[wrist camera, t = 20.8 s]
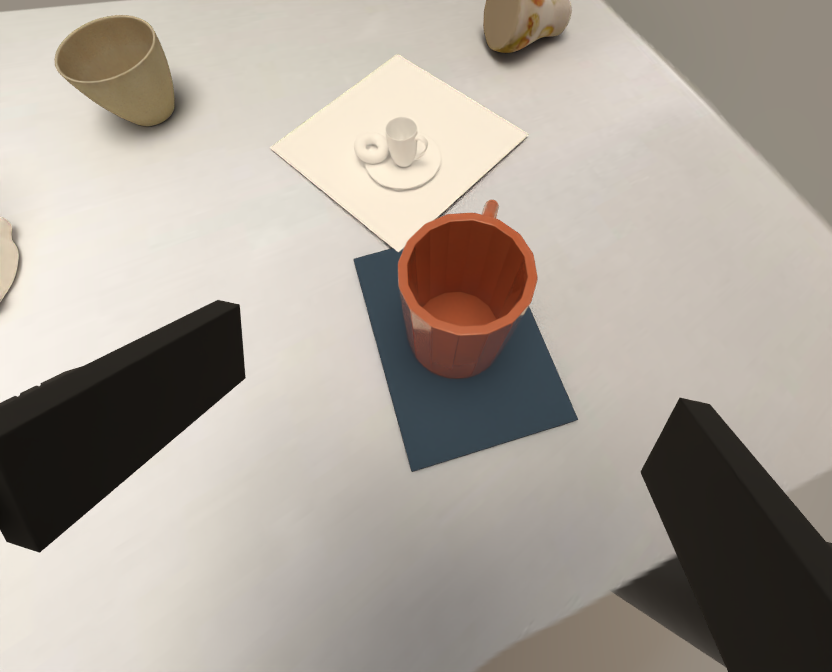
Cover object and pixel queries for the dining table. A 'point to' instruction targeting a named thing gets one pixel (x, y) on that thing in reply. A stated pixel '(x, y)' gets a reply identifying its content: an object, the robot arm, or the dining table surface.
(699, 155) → the dining table surface
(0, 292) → the vase
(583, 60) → the dining table surface
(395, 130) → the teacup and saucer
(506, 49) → the floral patterned cup
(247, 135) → the dining table surface
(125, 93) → the flower pot
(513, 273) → the tall mug
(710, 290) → the dining table surface
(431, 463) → the mat
